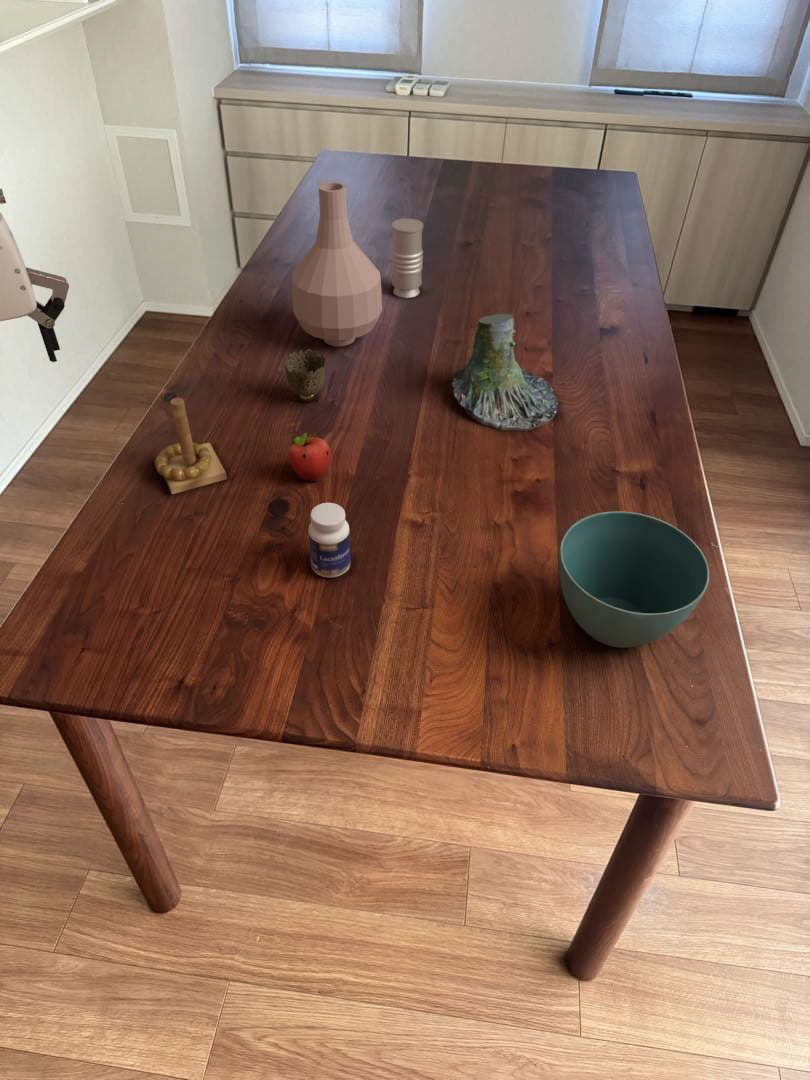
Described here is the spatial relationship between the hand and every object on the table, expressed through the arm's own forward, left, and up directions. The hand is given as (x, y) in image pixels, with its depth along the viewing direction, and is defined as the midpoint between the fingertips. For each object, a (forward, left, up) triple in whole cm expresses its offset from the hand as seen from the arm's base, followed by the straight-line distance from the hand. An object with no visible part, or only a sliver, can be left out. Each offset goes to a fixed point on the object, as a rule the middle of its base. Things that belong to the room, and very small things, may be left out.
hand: (6, 366), depth 88 cm
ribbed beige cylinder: (+81, +61, -34) cm, 107 cm away
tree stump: (+77, +14, -34) cm, 85 cm away
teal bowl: (+62, -39, -34) cm, 81 cm away
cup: (+45, +30, -34) cm, 64 cm away
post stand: (+20, +18, -34) cm, 44 cm away
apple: (+37, +8, -34) cm, 51 cm away
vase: (+59, +48, -34) cm, 83 cm away
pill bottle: (+32, -12, -34) cm, 49 cm away
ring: (+19, +18, -32) cm, 41 cm away
